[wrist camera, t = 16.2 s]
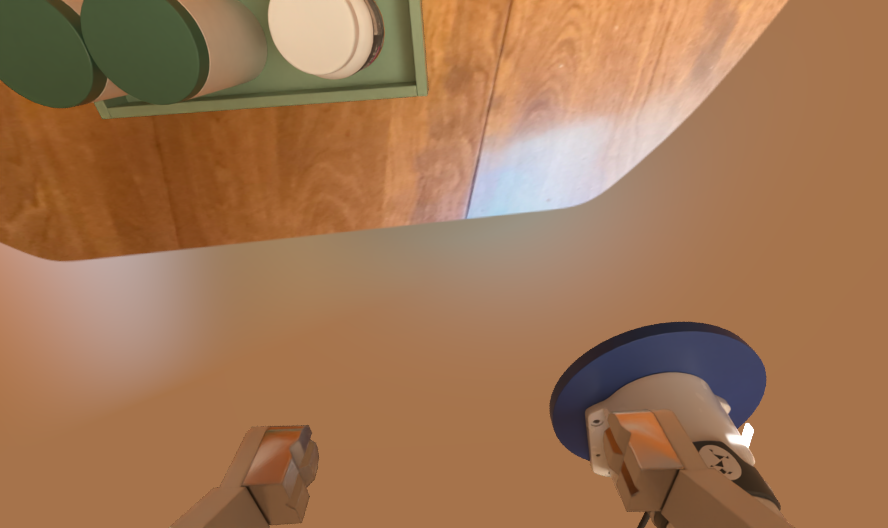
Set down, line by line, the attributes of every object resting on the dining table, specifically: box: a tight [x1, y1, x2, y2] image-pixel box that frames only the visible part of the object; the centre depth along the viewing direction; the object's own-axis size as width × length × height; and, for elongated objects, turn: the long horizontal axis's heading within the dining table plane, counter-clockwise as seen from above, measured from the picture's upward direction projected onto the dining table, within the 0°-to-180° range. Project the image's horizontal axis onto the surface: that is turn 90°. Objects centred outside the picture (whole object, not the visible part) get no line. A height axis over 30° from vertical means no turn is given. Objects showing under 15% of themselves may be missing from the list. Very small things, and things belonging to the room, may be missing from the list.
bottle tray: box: [94, 0, 429, 119], centre depth 28 cm, size 26×10×3 cm, turn 94°
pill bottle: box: [268, 0, 385, 79], centre depth 25 cm, size 6×6×10 cm
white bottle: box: [80, 0, 267, 105], centre depth 25 cm, size 6×6×10 cm
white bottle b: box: [0, 0, 129, 108], centre depth 25 cm, size 6×6×10 cm
